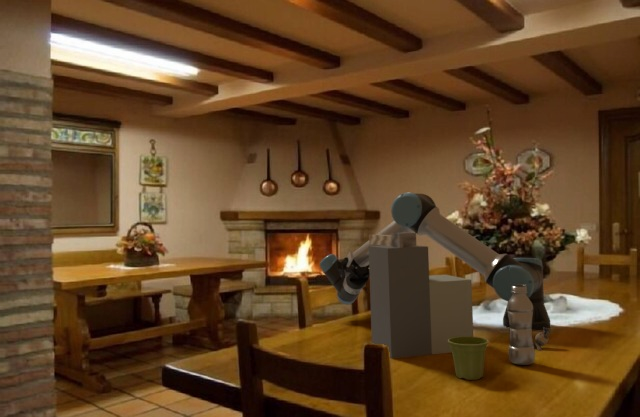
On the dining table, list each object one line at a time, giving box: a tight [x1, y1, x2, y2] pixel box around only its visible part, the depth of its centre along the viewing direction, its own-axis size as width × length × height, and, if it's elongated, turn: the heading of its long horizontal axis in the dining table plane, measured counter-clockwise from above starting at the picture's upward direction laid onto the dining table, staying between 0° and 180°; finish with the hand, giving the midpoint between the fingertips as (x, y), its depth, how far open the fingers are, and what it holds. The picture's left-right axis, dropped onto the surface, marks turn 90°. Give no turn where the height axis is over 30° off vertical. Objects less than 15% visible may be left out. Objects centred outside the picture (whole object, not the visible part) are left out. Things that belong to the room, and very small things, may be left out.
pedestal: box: [368, 244, 474, 359], centre depth 160 cm, size 16×25×30 cm, turn 104°
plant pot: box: [448, 336, 489, 381], centre depth 130 cm, size 9×9×9 cm
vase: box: [533, 327, 552, 351], centre depth 156 cm, size 5×5×6 cm
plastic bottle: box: [506, 285, 536, 366], centre depth 140 cm, size 6×7×20 cm
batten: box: [368, 232, 417, 248], centre depth 165 cm, size 28×5×4 cm, turn 14°
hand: (371, 253), depth 181 cm, fingers open, 13 cm apart
